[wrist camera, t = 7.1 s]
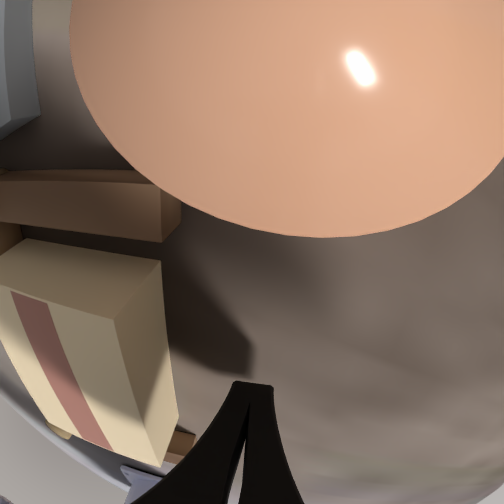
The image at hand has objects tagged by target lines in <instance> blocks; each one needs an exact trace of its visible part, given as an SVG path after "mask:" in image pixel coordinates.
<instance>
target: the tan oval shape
mask: <svg viewBox="0 0 504 504" xmlns="http://www.w3.org/2000/svg"><path fill="white" fill-rule="evenodd" d="M69 32H70V52H71V58H72V63H73V68H74V73H75V77H76V80H77V83H78V86H79V88H80V91H81V94H82V97H83V99H84V101H85V103H86V105H87V107H88V109H89V111H90V113H91V115H92V116H93V118H94V120H95V122H96V124H97V125H98V127H99V128H100V129H101V131H102V132H103V133H104V135H105V136H106V137H107V139H108V140H109V141H110V143H111V144H112V145H113V147H114V148H115V149H116V150H117V151H118V152H119V153H120V154H121V155H122V156H123V157H124V158H125V159H126V160H127V161H128V162H129V163H130V164H131V165H132V166H133V167H134V168H135V169H136V170H137V171H139V172H140V173H141V174H143V175H144V176H145V177H146V178H148V179H149V180H150V181H152V182H153V183H154V184H155V185H157V186H158V187H159V188H161V189H162V190H164V191H166V192H168V193H169V194H171V195H173V196H174V197H176V198H178V199H179V200H181V201H183V202H184V203H186V204H188V205H190V206H192V207H194V208H197V209H199V210H201V211H203V212H206V213H208V214H210V215H212V216H215V217H217V218H219V219H222V220H226V221H229V222H232V223H235V224H239V225H242V226H245V227H248V228H252V229H256V230H262V231H267V232H272V233H278V234H283V235H290V236H305V237H319V238H326V237H347V236H359V235H365V234H371V233H376V232H382V231H388V230H391V229H395V228H398V227H401V226H404V225H407V224H411V223H414V222H417V221H420V220H422V219H424V218H426V217H428V216H430V215H432V214H435V213H437V212H439V211H441V210H443V209H445V208H447V207H448V206H450V205H451V204H453V203H454V202H456V201H457V200H459V199H460V198H462V197H463V196H465V195H466V194H468V193H469V192H471V191H472V190H473V189H474V188H475V187H476V186H477V185H478V184H479V183H480V182H482V181H483V180H484V179H485V178H486V177H487V176H488V175H489V174H490V173H491V172H492V171H493V169H494V168H495V167H496V166H497V164H498V163H499V162H500V161H501V159H502V158H503V157H504V0H73V1H72V8H71V16H70V25H69Z"/></svg>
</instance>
